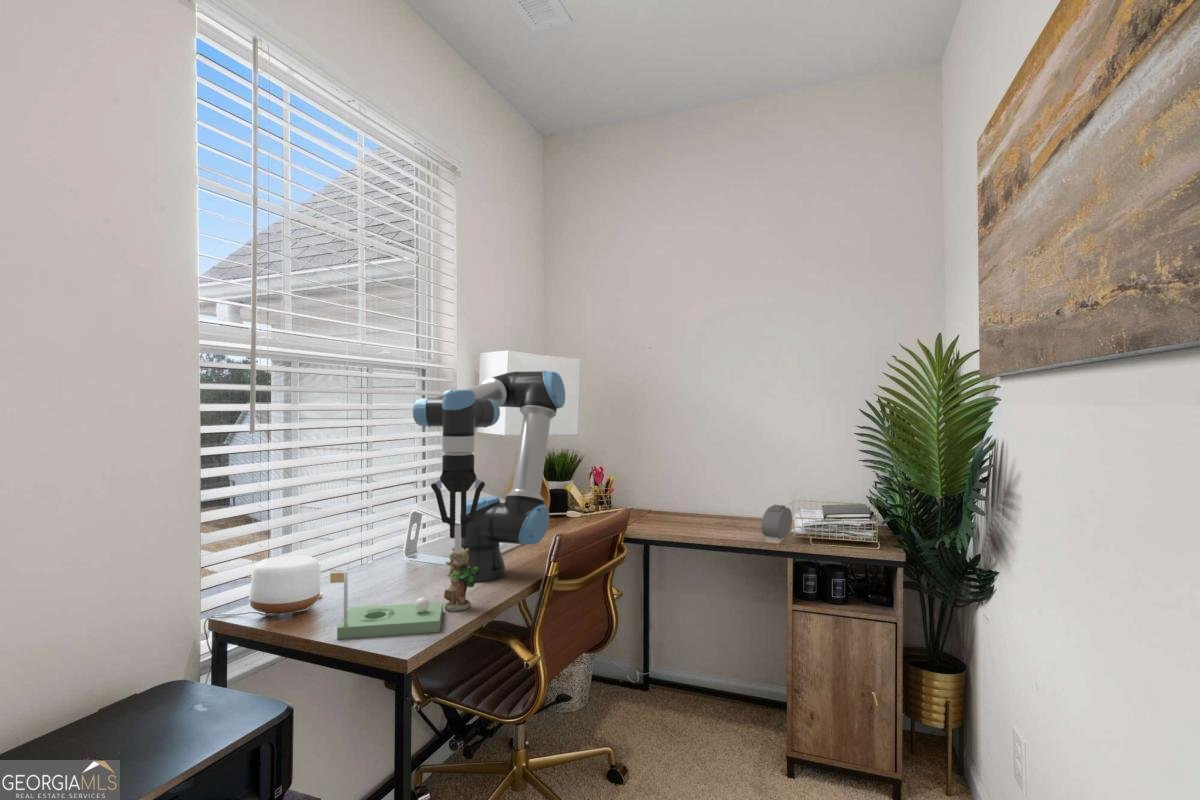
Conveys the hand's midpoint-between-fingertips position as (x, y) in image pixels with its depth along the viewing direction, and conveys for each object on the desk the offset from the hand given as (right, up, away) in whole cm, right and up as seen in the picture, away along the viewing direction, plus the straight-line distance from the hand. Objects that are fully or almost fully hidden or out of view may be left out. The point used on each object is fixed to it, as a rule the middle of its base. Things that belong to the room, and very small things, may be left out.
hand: (457, 551), depth 143 cm
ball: (-8, -13, -1) cm, 15 cm away
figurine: (-1, -17, +9) cm, 19 cm away
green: (-15, -17, -3) cm, 22 cm away
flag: (-24, -14, -10) cm, 30 cm away
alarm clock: (+102, -17, +84) cm, 134 cm away
